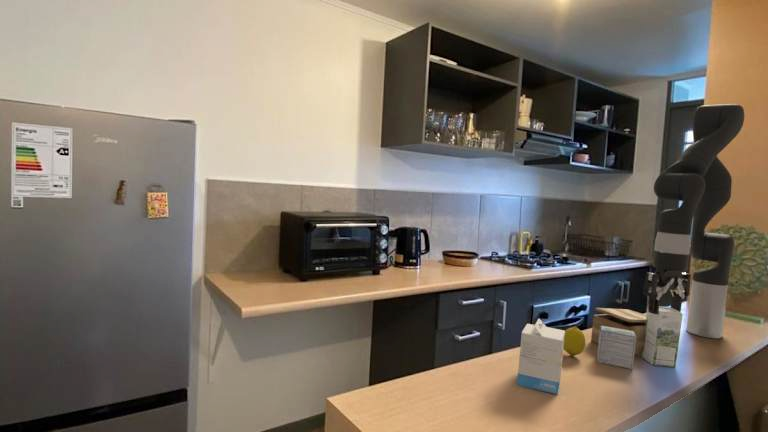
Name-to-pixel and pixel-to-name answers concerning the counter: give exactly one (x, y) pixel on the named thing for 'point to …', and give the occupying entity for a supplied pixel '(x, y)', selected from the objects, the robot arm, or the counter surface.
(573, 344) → the lemon
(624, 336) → the medicine box
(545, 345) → the ink box
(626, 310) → the lid flap
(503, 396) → the counter surface
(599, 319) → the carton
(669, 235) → the robot arm
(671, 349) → the syrup box
